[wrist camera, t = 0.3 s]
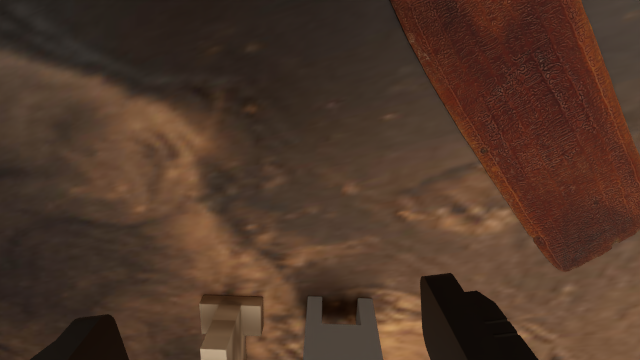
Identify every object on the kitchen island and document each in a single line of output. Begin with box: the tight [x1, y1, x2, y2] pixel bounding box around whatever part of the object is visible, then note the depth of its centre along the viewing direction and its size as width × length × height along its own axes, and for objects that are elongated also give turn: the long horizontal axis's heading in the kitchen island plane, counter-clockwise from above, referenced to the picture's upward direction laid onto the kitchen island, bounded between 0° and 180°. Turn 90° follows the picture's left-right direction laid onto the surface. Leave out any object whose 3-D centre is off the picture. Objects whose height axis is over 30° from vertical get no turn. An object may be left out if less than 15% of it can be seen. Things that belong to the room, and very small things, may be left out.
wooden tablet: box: [390, 0, 640, 272], centre depth 26 cm, size 27×10×2 cm, turn 34°
